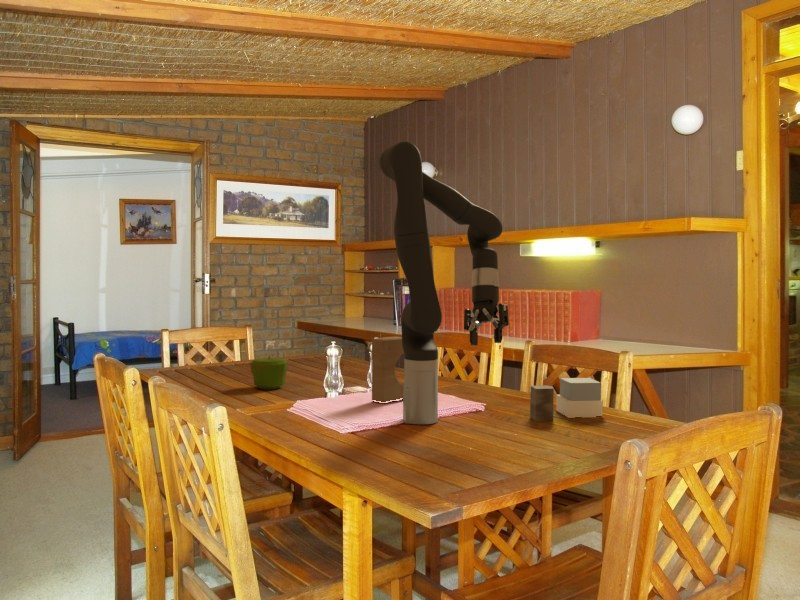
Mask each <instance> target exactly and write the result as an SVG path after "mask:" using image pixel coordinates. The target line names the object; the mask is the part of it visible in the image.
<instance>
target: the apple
mask: <svg viewBox="0 0 800 600" xmlns="http://www.w3.org/2000/svg"><path fill="white" fill-rule="evenodd" d="M250 371H251V374H252V379H253V383H254V386H256V387H257V388H258V389H261V390H268V391H269V390H277V389H279V388H280V387H282V386H284V385H285V383H286V374H287V371H288V361H287V360H285V359H284V358H278V357H270V356H268V357H262V358H256V359H253V361H251V363H250Z"/></svg>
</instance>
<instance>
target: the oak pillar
mask: <svg viewBox="0 0 800 600" xmlns="http://www.w3.org/2000/svg"><path fill="white" fill-rule="evenodd" d="M529 400H530V404H529V405H530V407H529V412H530V413H529V414H530V415H529V417H530V419H532V420H533V421H535V422H554V388H553V387H552V386H550V385H530V399H529Z"/></svg>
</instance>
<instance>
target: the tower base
mask: <svg viewBox="0 0 800 600" xmlns="http://www.w3.org/2000/svg"><path fill="white" fill-rule="evenodd" d="M555 402H556V409H555V410H556V411H557V412H558V413H559V414H561V415H562V416H564V415H565V417H566V418H568V419H570V418H571V419H572V418H575V417H582V418H597V417H596V416H602V417H603V400H602V399H601V400H583V401H570V400H568V399H566V398H564V397H563V396H561V395H560V394H556V401H555ZM575 419H576V418H575Z"/></svg>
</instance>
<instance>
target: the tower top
mask: <svg viewBox="0 0 800 600" xmlns="http://www.w3.org/2000/svg"><path fill="white" fill-rule="evenodd" d="M559 395H561V396H563V397H564V398H566V399H568V400H570V401H583V400H602V382H600V381H598V380H596V379H593V378H591V377H560V378H559Z"/></svg>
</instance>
